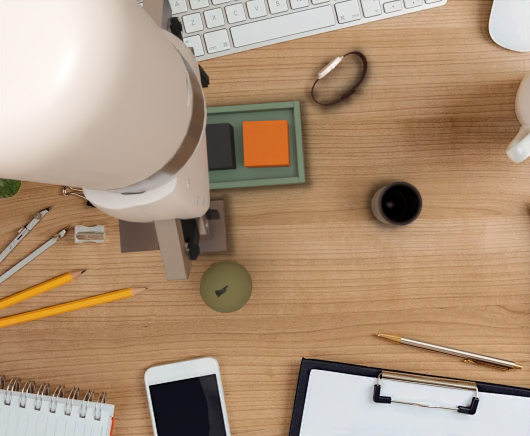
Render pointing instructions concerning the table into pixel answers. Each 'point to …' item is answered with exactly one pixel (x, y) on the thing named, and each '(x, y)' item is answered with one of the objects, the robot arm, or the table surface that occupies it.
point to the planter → (397, 204)
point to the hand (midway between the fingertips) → (193, 150)
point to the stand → (145, 238)
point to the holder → (236, 117)
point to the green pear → (226, 286)
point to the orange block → (266, 144)
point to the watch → (331, 66)
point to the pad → (220, 146)
